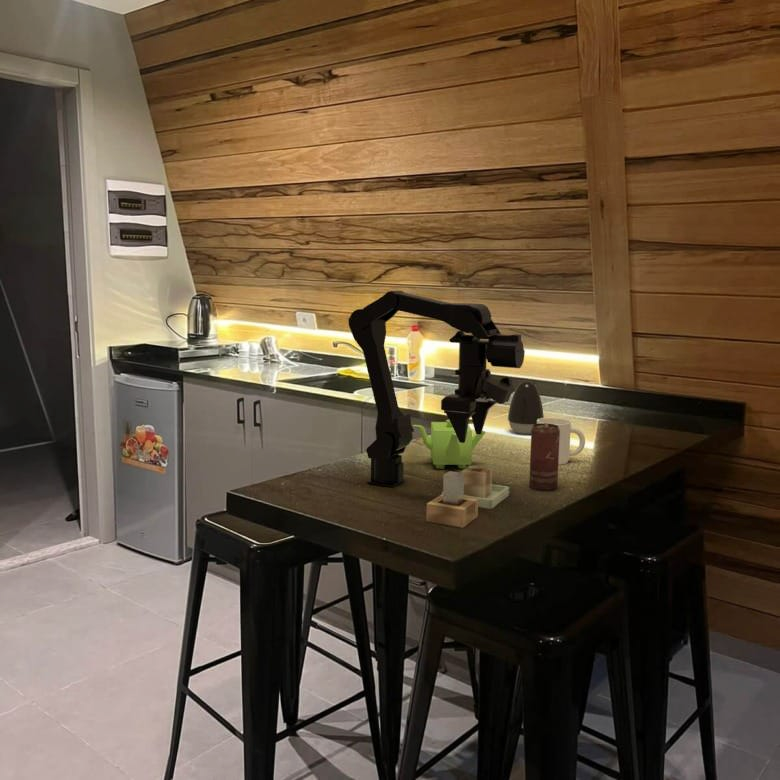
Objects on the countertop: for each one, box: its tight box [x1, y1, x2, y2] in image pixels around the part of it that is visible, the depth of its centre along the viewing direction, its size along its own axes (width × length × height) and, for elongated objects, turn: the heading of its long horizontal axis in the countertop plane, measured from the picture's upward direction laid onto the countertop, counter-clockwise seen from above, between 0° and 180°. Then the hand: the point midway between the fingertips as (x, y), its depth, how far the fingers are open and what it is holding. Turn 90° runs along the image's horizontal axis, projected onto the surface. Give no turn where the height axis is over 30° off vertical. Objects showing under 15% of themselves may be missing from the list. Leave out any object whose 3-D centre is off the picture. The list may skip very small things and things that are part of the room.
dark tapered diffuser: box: [507, 380, 545, 435], centre depth 231 cm, size 10×10×15 cm
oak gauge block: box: [425, 493, 479, 529], centre depth 154 cm, size 8×8×4 cm
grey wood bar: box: [442, 470, 464, 506], centre depth 154 cm, size 3×3×9 cm
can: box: [529, 423, 560, 492], centre depth 176 cm, size 6×6×14 cm
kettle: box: [411, 419, 486, 470], centre depth 194 cm, size 15×14×11 cm
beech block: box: [460, 465, 493, 498], centre depth 168 cm, size 5×5×6 cm
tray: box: [441, 483, 511, 510], centre depth 168 cm, size 11×11×2 cm
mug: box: [537, 417, 586, 466], centre depth 198 cm, size 12×8×10 cm
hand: (470, 438), depth 168 cm, fingers open, 9 cm apart
